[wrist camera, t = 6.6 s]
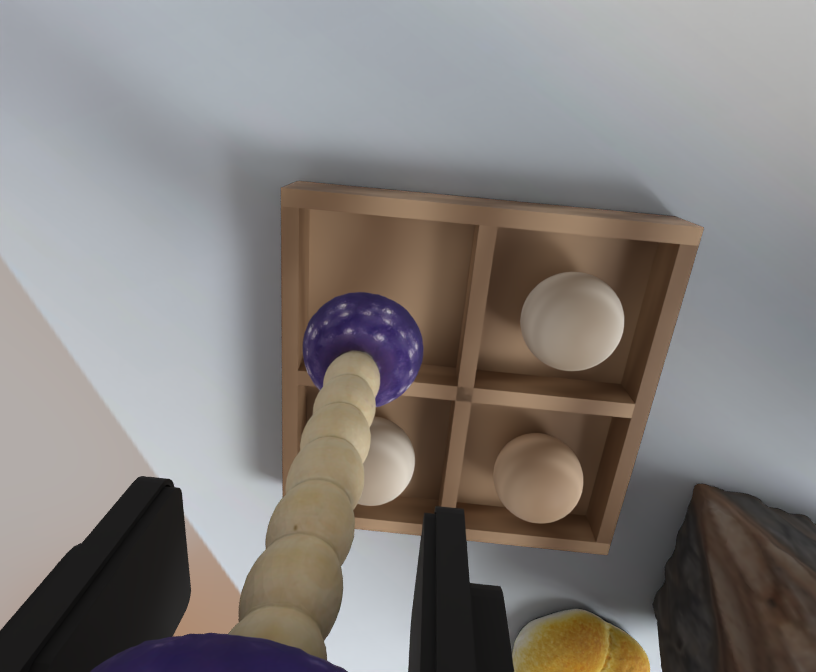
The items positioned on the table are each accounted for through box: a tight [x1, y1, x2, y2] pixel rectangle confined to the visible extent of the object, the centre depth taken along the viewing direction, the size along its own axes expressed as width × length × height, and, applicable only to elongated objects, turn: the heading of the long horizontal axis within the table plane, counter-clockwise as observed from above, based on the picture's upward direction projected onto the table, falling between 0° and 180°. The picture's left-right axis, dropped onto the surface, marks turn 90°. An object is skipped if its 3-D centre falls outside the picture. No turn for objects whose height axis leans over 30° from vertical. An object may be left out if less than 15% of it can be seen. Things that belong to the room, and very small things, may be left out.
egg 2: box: [520, 272, 624, 371], centre depth 25 cm, size 5×5×5 cm
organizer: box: [281, 181, 704, 555], centre depth 28 cm, size 18×18×3 cm
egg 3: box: [493, 433, 583, 523], centre depth 28 cm, size 5×5×5 cm
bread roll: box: [512, 609, 650, 672], centre depth 35 cm, size 8×9×4 cm
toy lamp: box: [90, 292, 423, 672], centre depth 11 cm, size 5×5×17 cm
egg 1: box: [357, 417, 415, 506], centre depth 28 cm, size 5×5×5 cm
